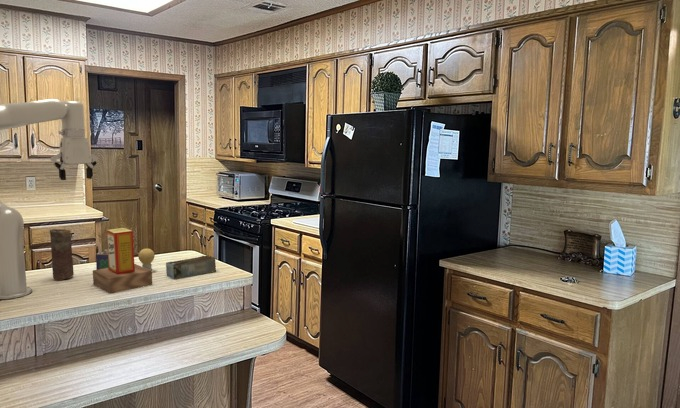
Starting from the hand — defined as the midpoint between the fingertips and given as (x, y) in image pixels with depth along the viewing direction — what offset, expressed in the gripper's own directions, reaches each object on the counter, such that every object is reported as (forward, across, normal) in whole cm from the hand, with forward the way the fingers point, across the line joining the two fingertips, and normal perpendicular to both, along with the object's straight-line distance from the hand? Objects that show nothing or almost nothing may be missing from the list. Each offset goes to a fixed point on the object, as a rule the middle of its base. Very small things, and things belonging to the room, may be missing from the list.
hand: (76, 179), depth 192 cm
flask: (+41, +11, +2) cm, 42 cm away
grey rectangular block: (+41, +34, -23) cm, 58 cm away
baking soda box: (+35, +8, -16) cm, 39 cm away
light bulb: (+40, +24, -6) cm, 47 cm away
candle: (+40, -3, +10) cm, 42 cm away
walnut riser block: (+41, +8, -16) cm, 45 cm away
